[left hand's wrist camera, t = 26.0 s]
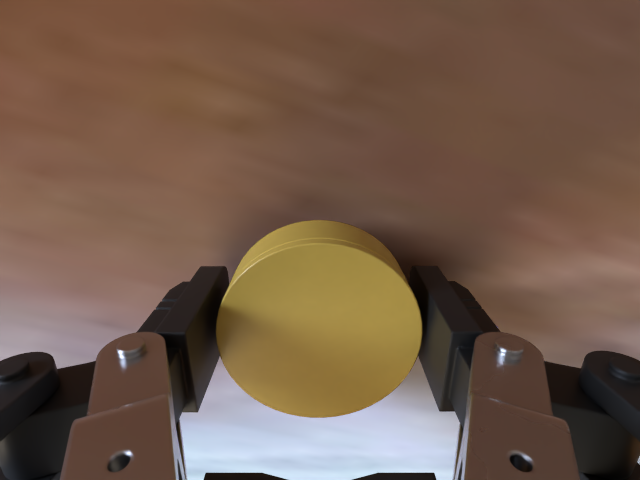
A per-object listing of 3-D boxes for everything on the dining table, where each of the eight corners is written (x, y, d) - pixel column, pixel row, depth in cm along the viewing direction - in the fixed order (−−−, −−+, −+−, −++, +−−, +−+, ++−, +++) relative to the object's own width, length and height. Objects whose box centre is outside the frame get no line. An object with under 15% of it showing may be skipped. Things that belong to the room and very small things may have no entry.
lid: (193, 294, 11) (171, 330, 9) (330, 180, 10) (334, 197, 8) (309, 399, 13) (308, 446, 11) (440, 311, 12) (462, 348, 10)
